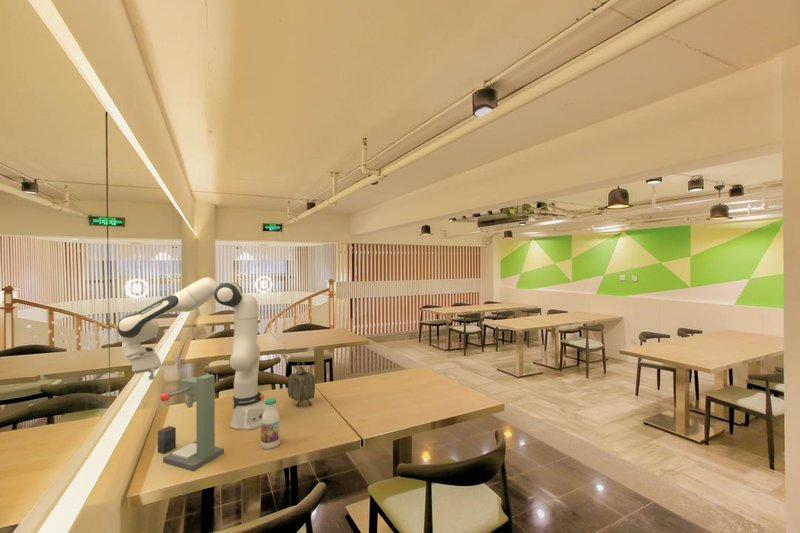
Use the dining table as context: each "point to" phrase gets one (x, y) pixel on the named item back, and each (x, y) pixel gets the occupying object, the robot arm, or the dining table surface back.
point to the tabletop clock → (301, 385)
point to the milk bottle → (270, 425)
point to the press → (205, 419)
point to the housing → (166, 439)
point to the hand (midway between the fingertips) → (141, 381)
